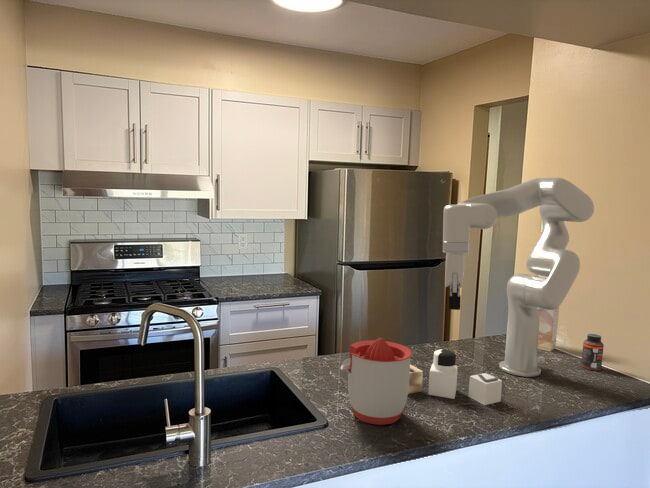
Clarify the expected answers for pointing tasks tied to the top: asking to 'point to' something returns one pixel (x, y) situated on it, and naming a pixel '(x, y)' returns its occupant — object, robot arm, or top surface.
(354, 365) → the citrus juicer
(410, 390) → the maple block one
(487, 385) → the white marked cube
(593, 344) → the supplement bottle
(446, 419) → the top surface
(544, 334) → the coffeecake box
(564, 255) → the robot arm
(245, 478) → the top surface
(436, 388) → the medicine bottle
